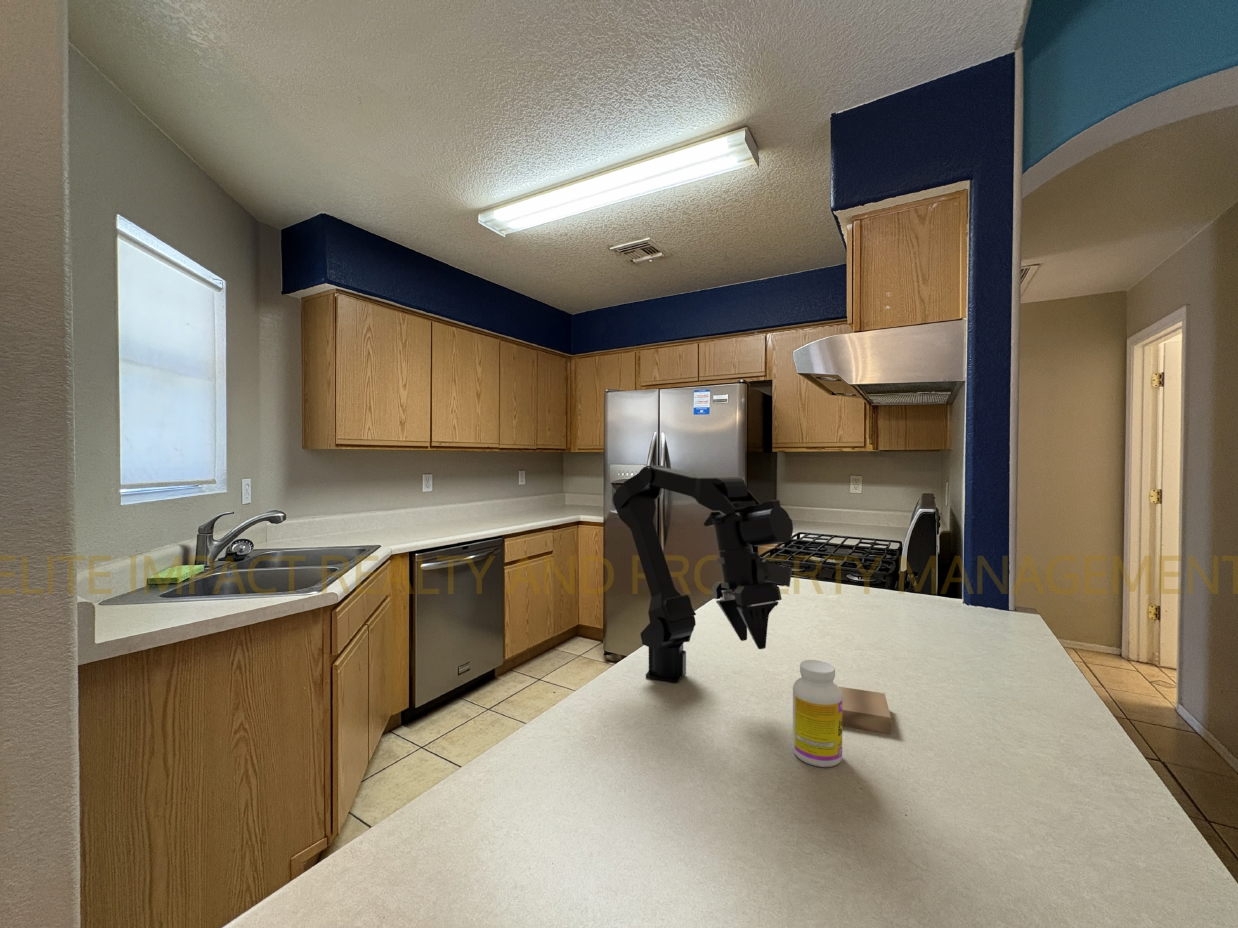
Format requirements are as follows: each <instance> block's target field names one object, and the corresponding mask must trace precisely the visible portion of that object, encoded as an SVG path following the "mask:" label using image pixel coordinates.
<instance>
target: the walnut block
mask: <svg viewBox="0 0 1238 928" xmlns="http://www.w3.org/2000/svg"><path fill="white" fill-rule="evenodd" d="M838 687H839V688H840V689H841V692H842V727H843V726H844V727H849V728H856V729H861V730H862V729H863V730H867V731H874V732H879V733H884V734H889V735H890V734H892V717H891V713H890V709H889V705H888V701H887V697H886V693H885V692H878V691H872V690H871V691H870V690H864V689H858V688H852V687H844V686H839V685H838Z"/></svg>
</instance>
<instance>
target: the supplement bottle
mask: <svg viewBox="0 0 1238 928" xmlns="http://www.w3.org/2000/svg"><path fill="white" fill-rule="evenodd" d="M799 673H800V675H801V677H800V678H798V679H796V680H795V681H794V683H793V685H792V686H793V687H792V751H793V753H794V754H795V756H796V757H797V758H798V759H799V760H800V761H802V762H804V763H806V764H809V765H812V766H815V767H821V768H827V767H828V768H829V767H834V766H837V765H838V764H840V763H841V761H842V758H843V725H842V692H841V689H840V688H839V687H840V686H839V685H838V684H836V683H835V682H834V680H835V677H836V667H835V666H834V665H832V664H831V663H829V662H826V661H823V660H817V659H807V660H803V661H801V662H800V665H799ZM838 686H839V687H838Z"/></svg>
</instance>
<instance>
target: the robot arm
mask: <svg viewBox="0 0 1238 928" xmlns="http://www.w3.org/2000/svg"><path fill="white" fill-rule="evenodd" d="M663 490H667V491H669V492H673V493H677V494H680V495H684V496H687V497H691V498H693V499H695V501H696V502H697V504H699V505H701V506H703V507H704V508H706V509H708V510H710V511H711V512H710V513H709V515H708V517H707V519H706V520H705V521H704V523H703V526H704V527H707V528H708V527H713V528H714V529H713V530H714V534H715V540H716V546H717V551H718V556H719V557H716V563H717V564H720V567H721V573H722V574H721V575H722V579H723V581H716V582H715V583H714V584H713V586H712V587H711V593H712V598H713V599H714V600H716V604H717V605H718V607H719V608H720V610H721V611H722V613H723V614H724V616H725V617H726V619H727V621H728V622H729V624H730V626H731V627H732V629H733V630H734V633H735V634H736V635H737V636H738V639H739V640H740V641H742V642H743V641H747V640H748V632H749V634H750V636H751V638H752V640H753V641H754V643H755V645H756V647H757V649H758V650H764V649H766V648H767V647H766V646H767V637H768V625H769V624H768V623H769V617H770V614H771V613H772V611H773V609H775V607H777V606H778V605H779V603H780V602H779V601H781V600H783V599H782V595H781V589H780V587H787V588H790V587H791V579H792V572H793V568H792V567H790V566H784V565H780V564H776V562H775V560H769V559H766V558H765V559H764V558H763V559H762V560H761V556H760V554H758V552H754V550H753V547H760V546H761V547H762V546H769V545H778V544H783V543H787V542H789V541H790V540H791V539H792V537H793V533H794V524H793V519H792V518H791V517H790V516H789V513H788V512H787V511H786V510H785V509H784V508H783V507H782V506H781V501H780V500H779V499H772V500H767V501H764V502H760V501H759V500H758V498H757V497H756V496H755V495H754V494H753V493H752V492H751V491H750V490H749V488H748V486H747V484H746V483H745V480H744V479H743V478H742V477H739V476H705V475H704V476H703V475H699V474H696V473H695V474H694V473H692V472H691V473H690V472H687V471H682V470H677V469H673V468H670V467H669V468H668V467H666V466H665V465H646V466H644V467H642V468H641V469H640V470H639V472H638V473H637V474H635V475H633V476H631V477H630V478H628V479H626V480H625V481H624V482H623V483H622V484H621V485H620V486H618V487H617V488H616V490H615V492H614V493H613V496H612V502H613V506H614V509H615V512H616V513H617V515H618V518H619V519H620V520H621V521H622V522H623V523H624V524H625V525H626V526H627V527H628V528H629V529H630V531H631V534H632V539H633V541H634V545H635V547H636V551H637V555H638V558H639V561H640V563H641V567H642V570H643V575H644V577H645V580H646V583H647V587H648V589H649V594H650V603H649V606H648V607H649V608H648V611H647V612H648V617H649V623H648V624H647V625H646V627H645V628H644V629H643V630H642V631H640V639H641V644H642V645H643V646H646V647H648V671H647V672H646V674H645V678H646V679H653V680H659V681H664V682H670V683H679V681H680V680H681V678H683V676H684V675H685V673H686V671H687V651H686V650H685V649H684V643H688V642H689V643H690V640H691V638H692V634H693V632H694V630H695V627H696V625H697V623H696V618H695V616H696V615H697V614H696V612H695V610H694V608H693V606H692V602H691V598H690V595H688V594H683V595H682V594H681V593H680V591H678V590H677V588H676V587H675V584H674V581H673V577H672V574H671V572H670V569H669V566H668V562H667V559H666V556H665V553H664V549H663V548H662V547H663V546H662V544H661V541H660V539H659V535H658V532H657V530H656V526H655V521H654V520H655V517H656V511H657V504H656V501H657V500H658V498H659V497H660V496H662V493H663V492H662V491H663Z"/></svg>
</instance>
